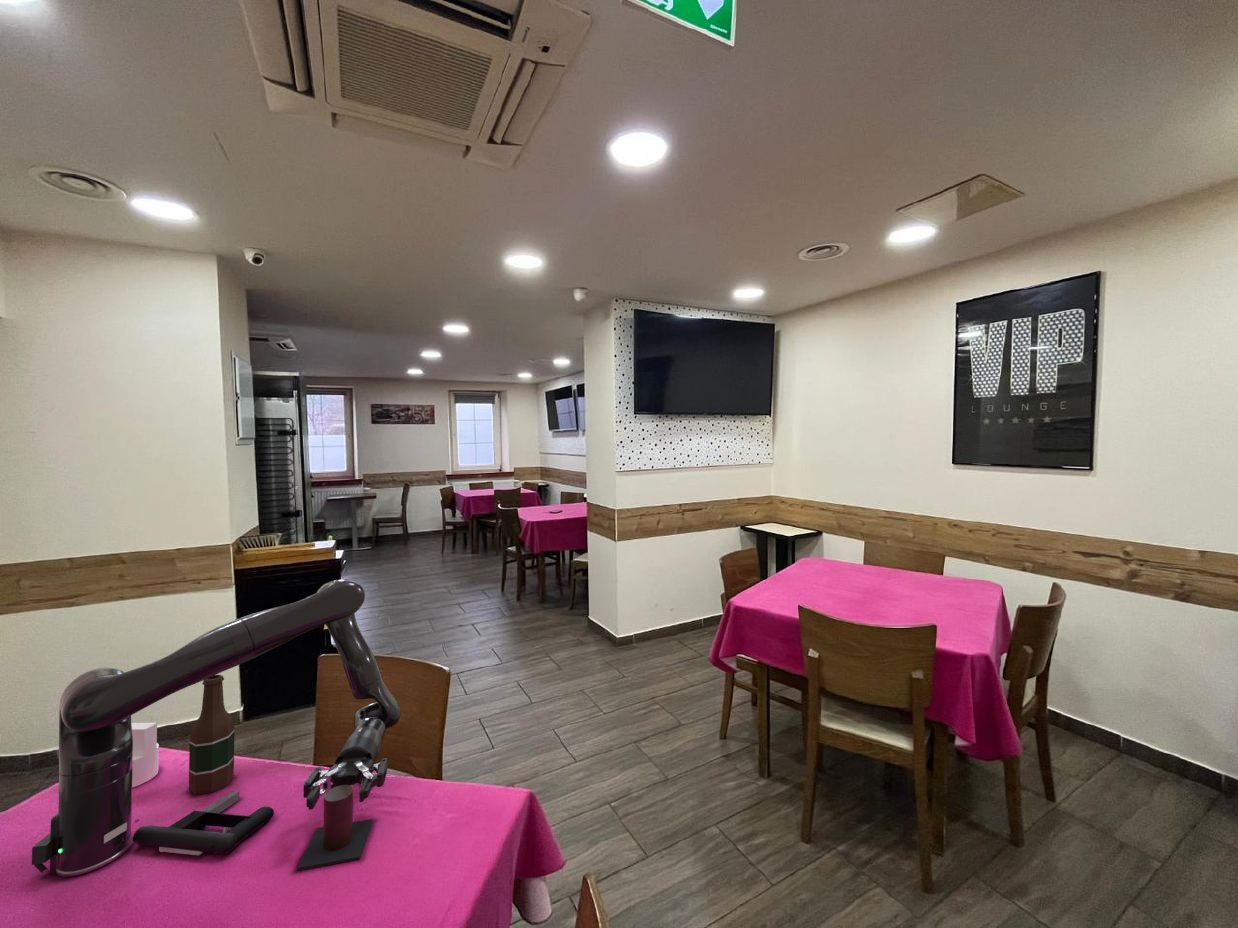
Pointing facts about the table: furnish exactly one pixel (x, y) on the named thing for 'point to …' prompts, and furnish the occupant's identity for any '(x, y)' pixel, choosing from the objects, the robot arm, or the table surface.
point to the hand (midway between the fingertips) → (336, 800)
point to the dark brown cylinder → (338, 817)
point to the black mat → (322, 857)
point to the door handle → (194, 841)
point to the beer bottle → (211, 742)
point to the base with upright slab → (144, 752)
